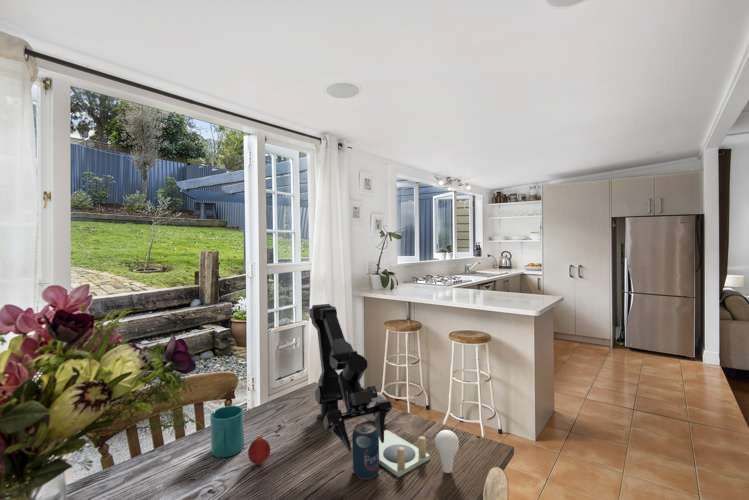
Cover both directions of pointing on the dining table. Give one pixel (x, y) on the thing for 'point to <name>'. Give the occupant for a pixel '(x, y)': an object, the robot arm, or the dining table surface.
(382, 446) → the board
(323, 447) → the dining table surface
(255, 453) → the onion
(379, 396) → the donut
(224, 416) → the cup
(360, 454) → the soda can
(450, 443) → the lightbulb
